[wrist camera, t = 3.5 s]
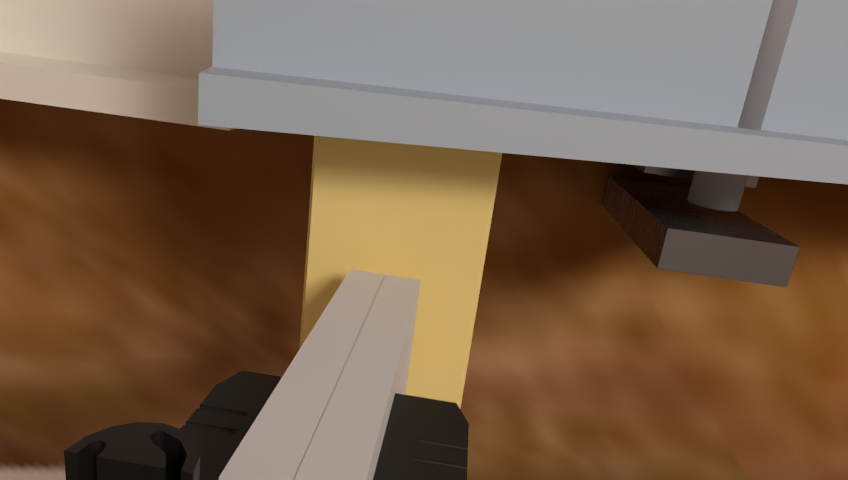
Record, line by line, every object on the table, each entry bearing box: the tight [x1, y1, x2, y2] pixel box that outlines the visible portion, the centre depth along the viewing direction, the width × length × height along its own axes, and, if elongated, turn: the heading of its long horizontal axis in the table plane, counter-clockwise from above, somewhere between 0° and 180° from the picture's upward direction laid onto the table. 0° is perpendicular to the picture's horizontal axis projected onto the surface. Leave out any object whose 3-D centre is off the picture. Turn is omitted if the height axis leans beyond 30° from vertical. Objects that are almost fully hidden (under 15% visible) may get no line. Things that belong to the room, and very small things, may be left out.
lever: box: [198, 0, 848, 408], centre depth 14 cm, size 24×16×3 cm, turn 83°
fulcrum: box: [602, 165, 800, 287], centre depth 15 cm, size 3×13×7 cm, turn 173°
